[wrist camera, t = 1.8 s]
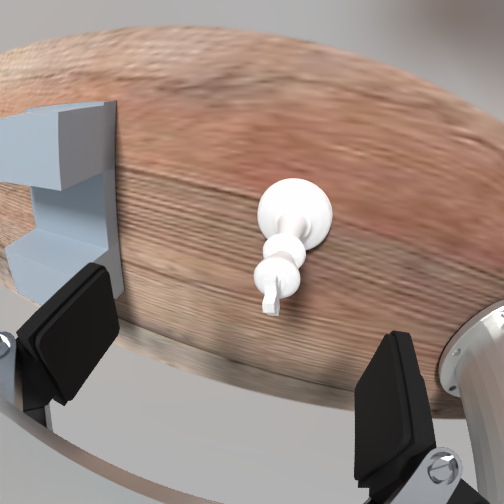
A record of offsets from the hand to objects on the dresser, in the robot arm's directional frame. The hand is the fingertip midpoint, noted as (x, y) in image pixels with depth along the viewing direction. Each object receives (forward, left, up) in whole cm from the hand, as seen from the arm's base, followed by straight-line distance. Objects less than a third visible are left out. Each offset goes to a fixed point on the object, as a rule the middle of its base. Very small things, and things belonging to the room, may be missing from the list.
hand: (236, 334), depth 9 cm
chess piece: (-1, 0, -12) cm, 12 cm away
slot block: (+18, +2, -12) cm, 22 cm away
